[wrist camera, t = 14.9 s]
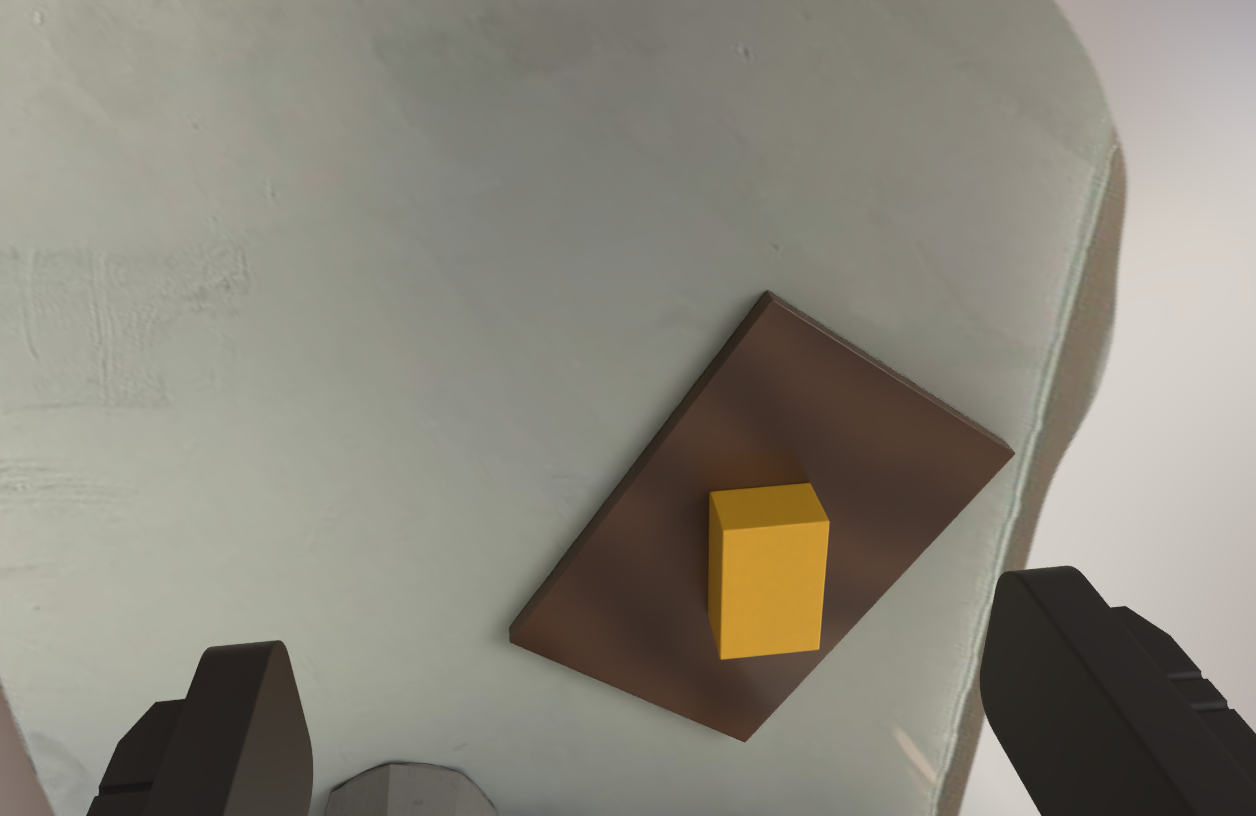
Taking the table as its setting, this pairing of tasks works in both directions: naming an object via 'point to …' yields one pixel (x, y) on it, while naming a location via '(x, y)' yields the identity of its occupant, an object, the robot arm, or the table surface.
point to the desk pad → (748, 458)
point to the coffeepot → (409, 793)
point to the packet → (766, 570)
